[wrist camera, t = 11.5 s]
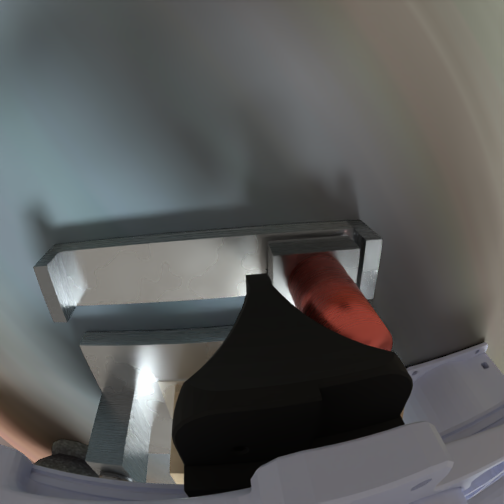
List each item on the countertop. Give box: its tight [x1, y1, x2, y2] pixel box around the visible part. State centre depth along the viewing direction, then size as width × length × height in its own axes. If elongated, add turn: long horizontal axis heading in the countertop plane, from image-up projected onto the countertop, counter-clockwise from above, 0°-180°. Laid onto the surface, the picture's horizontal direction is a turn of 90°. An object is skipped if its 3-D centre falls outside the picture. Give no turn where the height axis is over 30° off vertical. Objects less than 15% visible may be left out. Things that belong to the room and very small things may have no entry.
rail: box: [33, 220, 383, 322], centre depth 14 cm, size 15×3×2 cm, turn 92°
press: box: [79, 325, 234, 483], centre depth 16 cm, size 11×12×7 cm
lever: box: [268, 235, 393, 351], centre depth 11 cm, size 4×3×6 cm
